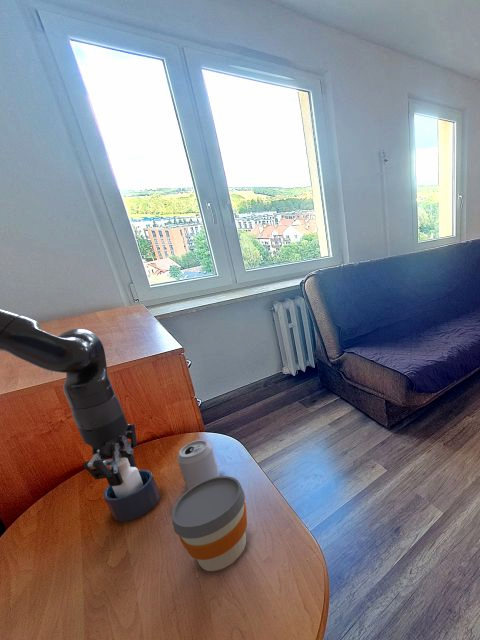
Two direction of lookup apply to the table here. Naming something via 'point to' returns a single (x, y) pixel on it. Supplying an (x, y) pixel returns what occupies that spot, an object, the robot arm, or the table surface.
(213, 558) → the reusable coffee cup
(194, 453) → the can
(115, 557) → the table surface
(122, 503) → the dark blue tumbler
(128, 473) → the salt shaker
